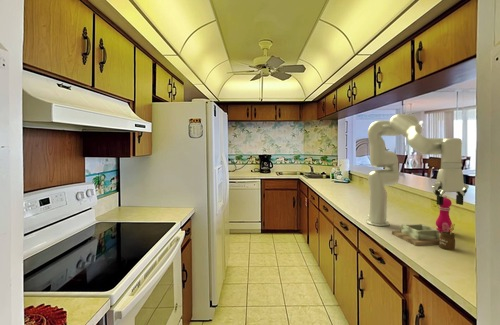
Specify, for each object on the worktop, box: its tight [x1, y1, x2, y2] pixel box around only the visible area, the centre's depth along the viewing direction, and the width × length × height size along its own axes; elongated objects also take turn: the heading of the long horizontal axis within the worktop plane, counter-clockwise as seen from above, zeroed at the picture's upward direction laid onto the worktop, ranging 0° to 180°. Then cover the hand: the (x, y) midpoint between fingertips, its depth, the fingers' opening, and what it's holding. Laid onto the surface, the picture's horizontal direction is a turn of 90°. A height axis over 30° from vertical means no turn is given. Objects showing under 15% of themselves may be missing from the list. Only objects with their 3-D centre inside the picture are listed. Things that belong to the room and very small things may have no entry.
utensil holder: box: [438, 223, 456, 251], centre depth 134 cm, size 6×6×12 cm
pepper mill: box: [435, 194, 453, 234], centre depth 158 cm, size 7×7×20 cm
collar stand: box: [391, 223, 441, 246], centre depth 148 cm, size 18×18×6 cm
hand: (449, 204), depth 133 cm, fingers open, 9 cm apart
